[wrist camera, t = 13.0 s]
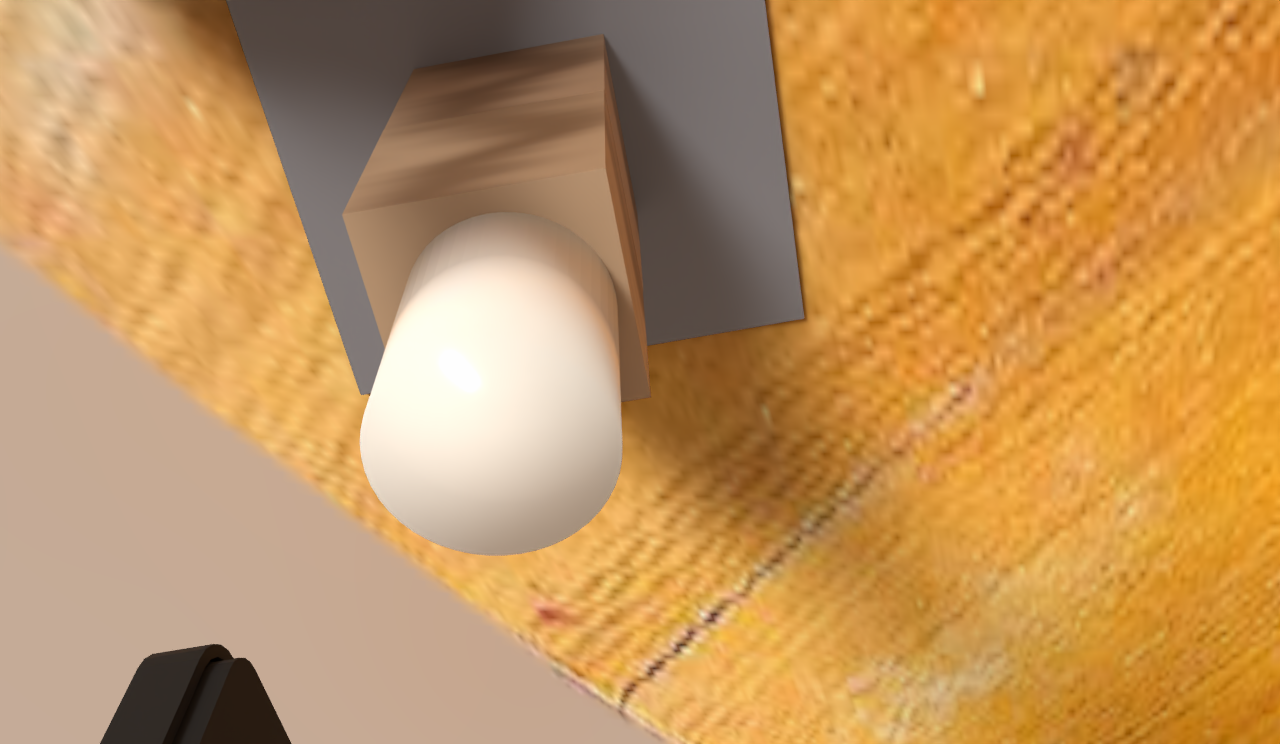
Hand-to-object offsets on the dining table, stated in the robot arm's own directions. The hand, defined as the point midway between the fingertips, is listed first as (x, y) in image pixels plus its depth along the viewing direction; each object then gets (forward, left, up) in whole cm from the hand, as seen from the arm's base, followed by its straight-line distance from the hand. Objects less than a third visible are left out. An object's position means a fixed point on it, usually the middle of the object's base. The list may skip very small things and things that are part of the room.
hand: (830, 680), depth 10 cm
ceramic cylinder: (+5, +5, -18) cm, 19 cm away
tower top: (+5, +5, -24) cm, 25 cm away
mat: (+5, +5, -31) cm, 31 cm away
